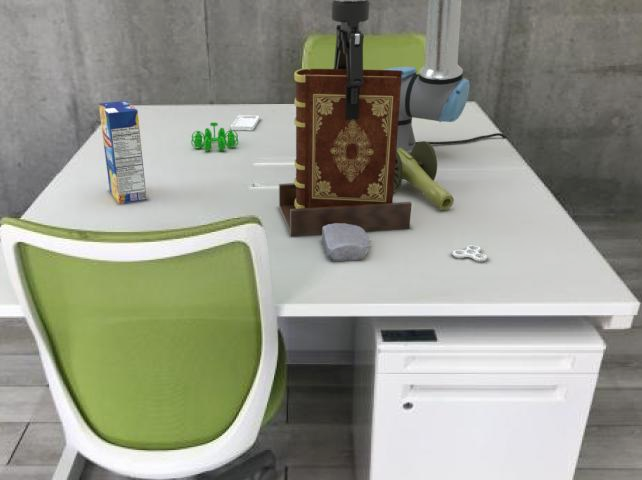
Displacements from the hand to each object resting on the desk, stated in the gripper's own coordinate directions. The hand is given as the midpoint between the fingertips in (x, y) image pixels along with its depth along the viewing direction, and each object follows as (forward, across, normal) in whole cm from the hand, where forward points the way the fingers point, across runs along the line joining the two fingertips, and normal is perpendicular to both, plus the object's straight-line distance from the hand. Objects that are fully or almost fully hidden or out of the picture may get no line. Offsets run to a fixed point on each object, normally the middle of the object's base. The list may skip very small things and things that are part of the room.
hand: (346, 113), depth 157 cm
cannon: (+24, +12, -22) cm, 35 cm away
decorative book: (+22, 0, 0) cm, 22 cm away
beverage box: (+24, +24, +50) cm, 61 cm away
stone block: (+24, -18, +3) cm, 30 cm away
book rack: (+24, 0, 0) cm, 24 cm away
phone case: (+24, +88, +13) cm, 92 cm away
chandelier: (+24, +64, +25) cm, 73 cm away
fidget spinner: (+24, -25, -21) cm, 41 cm away
